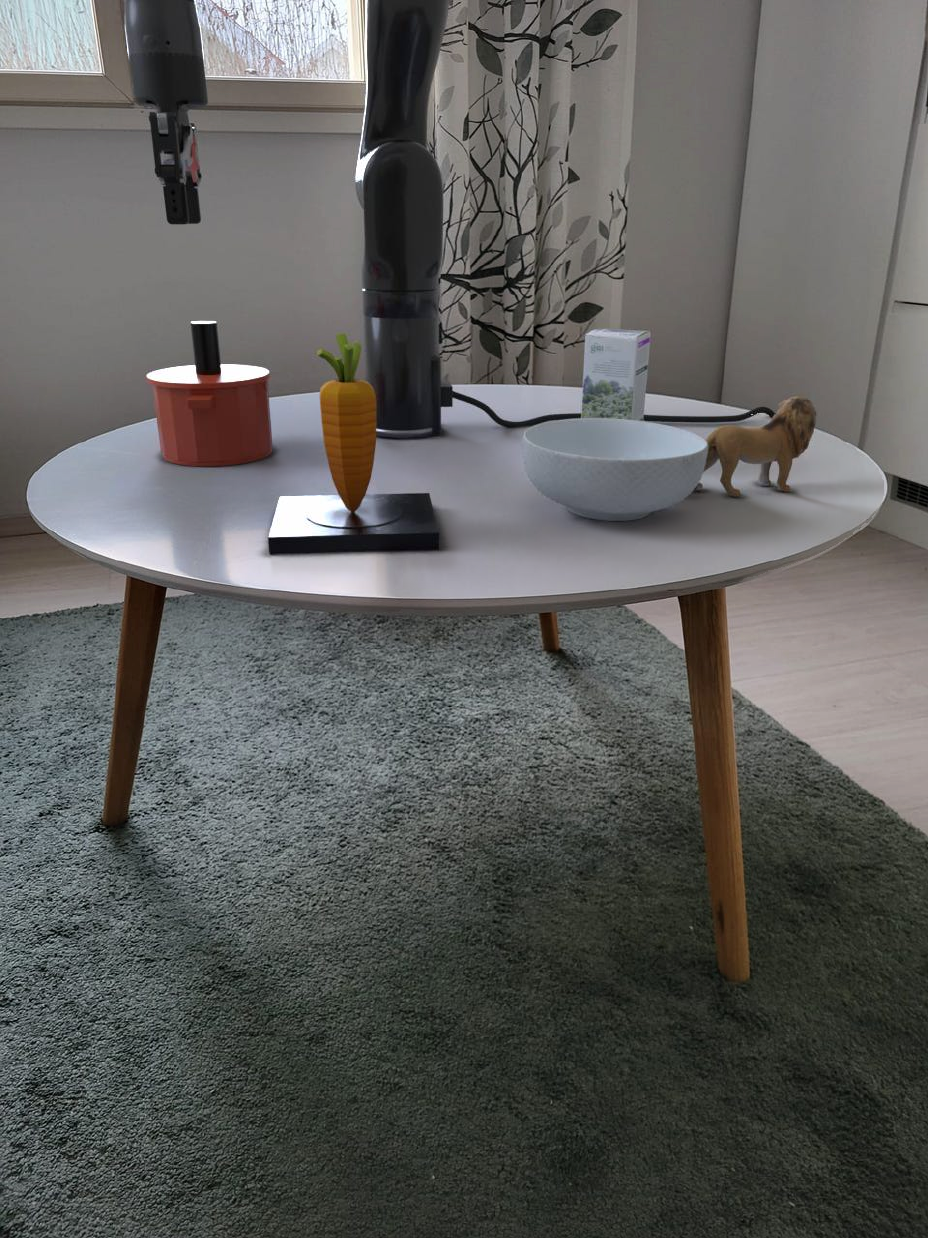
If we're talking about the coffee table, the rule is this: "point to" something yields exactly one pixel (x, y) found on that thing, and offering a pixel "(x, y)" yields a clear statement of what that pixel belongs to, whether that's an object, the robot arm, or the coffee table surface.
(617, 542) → the coffee table surface
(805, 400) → the lion figurine
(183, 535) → the coffee table surface
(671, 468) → the cereal bowl
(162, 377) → the pot lid
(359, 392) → the carrot
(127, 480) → the coffee table surface
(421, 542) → the hob plate
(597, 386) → the syrup box
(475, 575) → the coffee table surface
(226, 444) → the pot
